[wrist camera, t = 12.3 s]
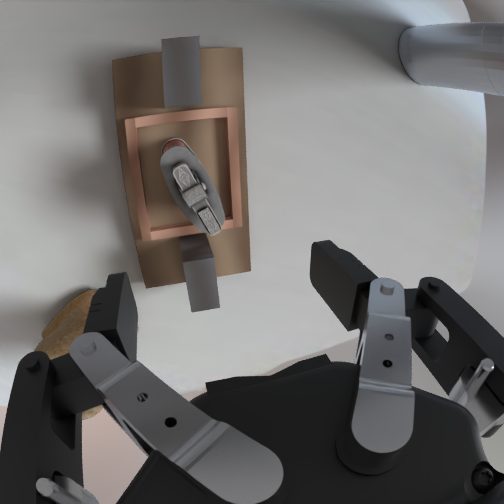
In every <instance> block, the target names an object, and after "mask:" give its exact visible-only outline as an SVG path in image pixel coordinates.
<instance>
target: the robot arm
mask: <svg viewBox="0 0 504 504" xmlns="http://www.w3.org/2000/svg"><path fill="white" fill-rule="evenodd" d="M399 54H400V58H401V62H402V64H403V67H404V69H405V70H406V72H407V74H408V75H409V76H410V77H411V78H412V79H413V80H414V81H415V82H417V83H419V84H421V85H426V86H437V87H446V88H455V89H463V90H470V91H476V92H482V93H488V94H494V95H499V96H504V23H501V22H474V23H472V22H471V23H450V24H437V25H426V26H418V27H411V28H408V29H406V30H405V31H404V32H403V33H402V35H401V37H400V41H399ZM310 279H311V283H312V285H313V287H314V288H315V289H316V291H317V292H318V293H319V294H320V296H321V297H322V298H323V300H324V301H325V302H326V303H327V305H328V306H329V307H330V309H331V310H332V311H333V312H334V314H335V315H336V316H337V318H338V319H339V320H340V322H341V323H342V324H343V325H344V327H345V328H346V329H347V331H351V330H355V329H358V328H359V330H360V333H359V337H358V343H357V349H356V354H355V359H354V363H349V362H331V361H330V360H329V358H328V356H327V355H326V354H324V355H321V356H317V357H313V358H310V359H306V360H303V361H299V362H297V363H295V364H293V365H292V366H289V367H287V368H285V369H283V370H282V371H279V372H277V373H275V374H273V375H270V376H242V377H232V378H227V379H222V380H217V381H212V382H206V383H205V384H206V388H207V392H206V393H203V394H201V395H199V396H197V397H195V398H194V399H192V400H191V401H187V400H186V399H185V398H183V397H182V396H181V395H180V394H178V393H177V392H176V391H174V390H173V389H172V388H171V387H169V386H168V385H167V384H166V383H164V382H163V381H162V380H161V379H159V378H158V377H157V376H156V375H155V374H153V373H152V372H151V371H150V370H149V369H147V368H146V367H145V366H144V365H143V364H142V363H140V362H139V361H136V354H137V323H138V313H137V307H136V302H135V299H134V296H133V292H132V289H131V285H130V282H129V278H128V275H127V273H126V272H123V273H117V274H110V275H109V276H108V280H107V284H106V287H104V288H99V289H98V290H97V291H96V293H95V294H94V295H93V296H92V300H91V304H90V305H91V306H90V307H89V313H88V315H87V319H86V323H85V327H84V331H83V334H82V335H80V336H79V337H77V338H76V339H75V340H74V341H73V342H72V343H71V345H70V348H69V353H67V354H65V355H62V356H59V357H57V358H54V359H51V360H50V358H49V356H48V355H47V354H46V353H45V352H43V351H34V352H31V353H29V354H27V355H26V356H24V357H23V358H22V359H21V361H20V362H19V364H18V367H17V370H16V374H15V378H14V382H13V386H12V390H11V394H10V399H9V403H8V408H7V413H6V418H5V424H4V430H3V436H2V443H1V450H0V504H99V503H98V500H97V499H96V497H95V496H94V495H93V494H91V493H90V492H89V491H87V490H86V489H84V487H83V486H84V485H83V469H82V412H83V411H86V410H89V409H91V408H94V407H97V406H99V405H101V406H102V407H103V408H104V409H105V410H106V412H107V413H108V414H109V415H110V416H111V417H112V418H113V420H114V421H115V422H116V423H117V424H118V425H119V426H120V427H121V428H122V429H123V431H125V433H126V434H127V435H128V436H129V437H130V438H131V439H132V440H133V441H134V443H135V444H136V445H137V446H138V447H139V448H140V449H141V450H142V451H143V452H144V453H145V454H146V455H147V456H148V458H147V460H146V461H145V463H144V464H143V466H142V467H141V469H140V470H139V472H138V473H137V474H136V476H135V477H134V479H133V480H132V482H131V483H130V485H129V486H128V488H127V489H126V490H125V492H124V493H123V495H122V496H121V497H120V499H119V500H118V502H117V503H116V504H504V474H503V473H500V472H498V471H496V470H495V469H494V468H493V467H492V466H491V465H490V464H489V462H488V460H487V458H486V456H485V453H484V450H483V447H482V443H481V438H480V437H490V436H492V435H493V434H494V433H495V432H496V431H497V430H498V429H499V428H500V427H501V426H502V425H503V424H504V338H503V337H502V336H501V335H500V334H499V333H498V332H497V331H496V330H495V329H494V328H493V327H492V326H491V325H490V324H489V323H488V322H487V321H486V320H485V319H484V318H483V317H482V316H481V315H480V314H479V313H478V312H477V311H476V310H475V309H474V308H473V307H472V306H470V305H469V304H468V303H467V302H466V301H465V300H464V299H463V298H462V297H461V296H460V295H458V294H457V293H456V292H455V291H454V290H453V289H452V288H451V287H450V286H448V285H447V284H446V283H445V282H444V281H442V280H440V279H438V278H434V277H424V278H422V279H421V280H420V282H419V286H418V288H415V289H404V288H403V286H402V285H401V284H400V283H399V282H397V281H395V280H393V279H390V278H378V277H377V276H376V275H375V274H374V273H373V272H371V271H370V270H369V269H368V268H367V267H366V266H365V265H363V263H362V262H360V261H359V260H358V259H357V258H356V257H355V256H354V255H353V254H351V253H350V252H348V251H345V250H343V249H339V248H338V247H337V246H336V245H335V244H334V243H333V242H332V241H330V240H325V241H319V242H314V243H313V244H312V248H311V262H310ZM438 320H440V321H441V322H442V323H443V324H444V326H445V327H446V328H447V329H448V331H449V341H448V342H447V341H446V340H445V339H444V338H443V337H442V336H441V335H440V333H439V332H438V331H437V330H436V329H435V328H436V325H437V323H438ZM412 349H413V350H414V351H415V353H416V354H417V355H418V356H419V358H420V359H421V360H422V362H423V363H424V364H425V365H426V367H427V368H428V369H429V371H430V372H431V373H432V375H433V376H434V377H435V378H436V380H437V381H438V382H439V384H440V385H441V386H442V388H443V389H444V391H445V392H446V393H447V395H448V396H449V399H446V398H443V397H440V396H437V395H435V394H432V393H429V392H426V391H424V390H421V389H418V388H416V387H413V386H411V381H412V380H411V379H412Z"/></svg>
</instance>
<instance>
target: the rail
mask: <svg viewBox="0 0 504 504" xmlns="http://www.w3.org/2000/svg"><path fill="white" fill-rule="evenodd" d="M112 62H113V84H114V99H115V111H116V122H117V132H118V141H119V149H120V157H121V164H122V171H123V178H124V184H125V190H126V196H127V202H128V208H129V213H130V219H131V224H132V229H133V234H134V238H135V243H136V248H137V252H138V257H139V261H140V265H141V270H142V274H143V278H144V282H145V286H146V288H152V287H158V286H164V285H170V284H177V283H183V282H186V284H187V290H188V295H189V301H190V306H191V311H192V312H197V311H203V310H209V309H215V308H220V304H219V296H218V287H217V278H216V277H219V276H225V275H231V274H237V273H242V272H248V271H251V263H250V238H249V213H248V188H247V162H246V136H245V110H244V83H243V56H242V48H206V49H199V36H193V37H180V38H170V39H162V52H160V53H152V54H145V55H139V56H133V57H127V58H121V59H116V60H112ZM176 137H177V138H181V139H182V140H184V141H185V142H186V144H187V145H188V146H189V147H190V148H191V150H192V151H193V152H194V153H195V155H196V157H197V158H198V160H199V161H200V163H201V164H202V166H203V168H204V169H205V171H206V172H207V174H208V175H209V177H210V178H211V180H212V182H213V184H214V186H215V188H216V191H217V193H218V195H219V197H220V200H221V203H222V207H223V210H224V213H225V221H224V224H223V225H222V226H221V227H222V230H221V231H220V232H219V233H218V234H216V235H209V234H208V233H204V232H201V231H200V230H198V229H197V228H196V227H195V226H194V225H193V224H192V222H191V221H190V220H189V219H188V218H187V217H186V216H185V214H184V213H183V212H182V210H181V209H180V208H179V206H178V205H177V203H176V202H175V200H174V198H173V196H172V194H171V192H170V190H169V188H168V186H167V184H166V181H165V178H164V176H163V173H162V170H161V167H160V160H161V156H162V154H161V149H162V146H163V144H164V143H165V142H166V141H167V140H168V139H171V138H176Z"/></svg>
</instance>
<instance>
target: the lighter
mask: <svg viewBox="0 0 504 504" xmlns="http://www.w3.org/2000/svg"><path fill="white" fill-rule="evenodd" d="M161 154H162V156H161V160H160V167H161V170H162V173H163V176H164V178H165V181H166V184H167V186H168V188H169V190H170V192H171V194H172V196H173V198H174V200H175V202H176V203H177V205H178V206H179V208H180V209H181V210H182V212H183V213H184V214H185V216H186V217H187V218H188V219H189V220H190V221H191V222H192V224H193V225H194V226H195V227H196V228H197V229H198V230H200V231H201V232H204V233H208V234H209V235H216V234H218V233H219V232H220V231H221V230H222V227H221V226H222V225H223V224H224V221H225V213H224V210H223V207H222V203H221V200H220V197H219V195H218V193H217V191H216V188H215V186H214V184H213V182H212V180H211V178H210V177H209V175H208V174H207V172H206V171H205V169H204V168H203V166H202V164H201V163H200V161H199V160H198V158H197V157H196V155H195V153H194V152H193V151H192V150H191V148H190V147H189V146H188V145H187V144H186V142H185V141H184V140H182V139H181V138H177V137H176V138H171V139H168V140H167V141H166V142H165V143H164V144H163V146H162V149H161Z"/></svg>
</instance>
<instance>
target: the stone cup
mask: <svg viewBox="0 0 504 504" xmlns="http://www.w3.org/2000/svg"><path fill="white" fill-rule="evenodd" d="M96 291H97V289H92V290H88V291H86V292H84V293H82V294H80V295H79V296H77V297H76V298H74V299H73V300H72V301H71V302H69V303H68V304H67V305H66V306H65V307H64V308H63V309H62V310H61V311H60V312H59V313H58V315H57V316H56V317H55V318H54V319H53V320H52V321H51V323H50V324H49V325H48V326H47V327H46V328H45V329H44V330H43V332H42V337H43V340H42V341H41V342H40V343H39V345H38V346H37V347H36V349H35V350H34V351H43V352H45V353H46V354H47V355H48V356H49V358H50V360H51V359H54V358H57V357H59V356H62V355H65V354H67V353H69V348H70V345H71V343H72V342H73V341H74V340H75V339H76V338H77V337H79V336H80V335H82V334H83V331H84V327H85V323H86V319H87V315H88V313H89V307H90V306H91V305H90V304H91V300H92V296H93V295H94V294H95V293H96ZM137 332H138V324H137ZM102 408H103V407H102V406H101V405H99V406H97V407H94V408H91V409H89V410H86V411H83V412H82V420H85V419H88V418H90V417H93V416H94V415H96V414H97V413H98V412H100V410H101V409H102Z"/></svg>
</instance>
